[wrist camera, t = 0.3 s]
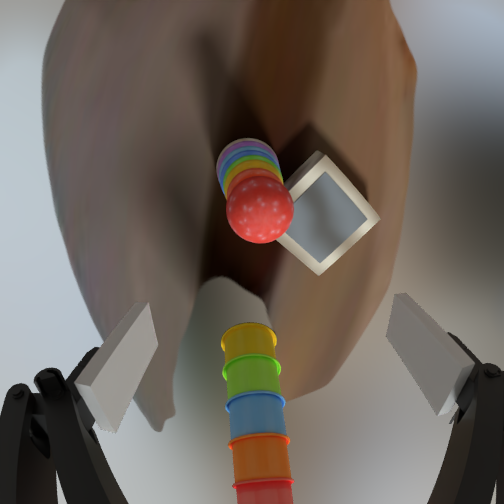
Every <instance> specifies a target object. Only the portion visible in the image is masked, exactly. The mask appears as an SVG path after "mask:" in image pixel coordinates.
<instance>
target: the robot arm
mask: <svg viewBox="0 0 504 504" xmlns="http://www.w3.org/2000/svg"><path fill="white" fill-rule="evenodd" d="M386 337H387V339H388V340H389V342H390V343H391V344H392V346H393V348H394V349H395V350H396V352H397V353H398V355H399V356H400V358H401V359H402V361H403V362H404V364H405V365H406V367H407V369H408V370H409V372H410V373H411V374H412V376H413V378H414V379H415V381H416V383H417V384H418V386H419V387H420V389H421V390H422V392H423V393H424V395H425V397H426V399H427V400H428V402H429V403H430V405H431V407H432V408H433V410H434V412H435V413H436V415H437V416H439V415H442V414H445V413H447V412H450V411H451V409H452V407H453V406H454V404H455V402H456V403H457V404H458V406H459V407H458V409H457V411H456V412H455V414H454V416H453V417H452V419H451V421H450V423H449V424H451V423H452V422H453V420H454V424H453V428H452V433H451V436H450V440H449V444H448V448H447V451H446V454H445V458H444V461H443V464H442V467H441V470H440V473H439V475H438V478H437V481H436V484H435V486H434V489H433V491H432V494H431V496H430V498H429V501H428V503H427V504H490V503H491V500H492V496H493V492H494V487H495V483H496V504H504V371H501V369H500V368H499V367H498V366H496V365H494V364H491V363H485V364H482V363H481V362H480V361H479V360H478V358H476V356H475V355H474V354H473V353H472V352H471V351H470V350H469V349H467V347H466V346H465V345H464V344H463V343H462V342H461V341H460V340H459V339H458V337H456V336H454V335H452V334H451V333H449V332H448V333H446V332H445V331H444V330H443V329H442V328H441V327H440V326H439V325H438V323H437V322H435V320H434V319H432V318H431V317H430V316H429V315H428V314H427V313H426V312H425V311H424V310H423V309H422V308H421V307H420V306H419V305H418V304H417V303H416V302H415V301H414V300H413V299H412V298H411V297H410V296H409V295H408V294H407V293H401V294H395V295H394V300H393V305H392V311H391V315H390V320H389V325H388V329H387V334H386ZM157 346H158V342H157V338H156V334H155V330H154V325H153V321H152V316H151V312H150V307H149V302H135V304H134V305H133V306H132V307H131V309H130V310H129V311H128V312H127V314H126V315H125V316H124V317H123V319H122V320H121V321H120V322H119V324H118V325H117V326H116V327H115V329H114V330H113V331H112V332H111V334H110V335H109V336H108V338H107V339H106V340H105V342H104V343H103V344H102V345H101V347H100V348H99V347H94V348H93V349H92V350H90V351H89V352H87V353H86V354H85V356H84V357H83V358H82V361H80V362H79V363H78V366H76V367H75V369H74V370H73V371H72V373H71V374H70V376H69V377H68V378H67V379H66V381H65V379H64V377H63V375H62V373H61V371H60V370H58V369H57V368H46V369H44V370H41V371H40V372H39V373H38V374H37V375H36V376H35V378H34V383H35V385H36V387H37V389H38V391H39V392H40V393H32V392H31V390H30V389H29V387H28V386H27V385H26V384H22V383H20V384H16V385H13V386H12V387H11V388H10V389H9V390H8V392H7V394H6V397H5V401H4V404H3V407H2V411H1V415H0V504H58V498H57V484H56V483H57V482H56V471H57V474H58V478H59V481H60V484H61V487H62V490H63V493H64V496H65V499H66V502H67V504H128V502H127V500H126V498H125V497H124V495H123V493H122V491H121V489H120V487H119V485H118V483H117V482H116V479H115V478H114V475H113V473H112V471H111V469H110V467H109V465H108V463H107V460H106V458H105V456H104V453H103V451H102V449H101V446H100V444H99V441H98V439H97V436H96V434H95V431H94V430H93V428H92V426H93V424H94V422H95V421H96V423H97V424H98V426H99V427H100V429H101V430H105V431H109V432H112V433H116V432H117V430H118V428H119V425H120V423H121V421H122V419H123V417H124V415H125V412H126V410H127V408H128V406H129V404H130V402H131V400H132V397H133V395H134V393H135V391H136V389H137V387H138V385H139V383H140V381H141V379H142V377H143V375H144V372H145V370H146V368H147V366H148V364H149V362H150V360H151V358H152V356H153V354H154V352H155V350H156V348H157Z"/></svg>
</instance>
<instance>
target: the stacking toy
mask: <svg viewBox="0 0 504 504" xmlns="http://www.w3.org/2000/svg"><path fill="white" fill-rule="evenodd" d="M216 171H217V176H218V180H219V182H220V186H221V188H222V191H223V193H224V195H225V197H226V200H227V206H226V213H227V218H228V221H229V224H230V226H231V227H232V229H233V230H234V231H235V232H236V233H237V234H238V235H239V236H240V237H241V238H243V239H245V240H247V241H250V242H254V243H267V242H271V241H273V240H276V239H277V238H279V237H280V236H282V235H283V234H284V233H285V232H286V231H287V229H288V228H289V226H290V224H291V222H292V219H293V215H294V204H293V200H292V197H291V195H290V193H289V191H288V190H287V188H286V187H285V186H284V185H283V178H282V174H281V171H280V167H279V162H278V159H277V156H276V154H275V152H274V151H273V150H272V148H271V147H270V146H269V145H267V144H266V143H264V142H262V141H260V140H258V139H253V138H243V139H238V140H235V141H233V142H231V143H230V144H228V145H227V146H226V147H225V148H224V149H223V150H222V152H221V154H220V155H219V158H218V161H217V166H216Z"/></svg>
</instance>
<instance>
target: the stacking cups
mask: <svg viewBox="0 0 504 504" xmlns="http://www.w3.org/2000/svg"><path fill="white" fill-rule="evenodd" d="M276 342H277V339H276V335H275V333H274V332H273V330H272V329H270V328H269V327H267V326H265V325H263V324H259V323H250V322H249V323H242V324H238V325H235V326H233V327H231V328H229V329H228V330H227V331H226V332H225V333H224V334H223V336H222V338H221V346H222V348H223V350H224V351H225V366H224V367H223V376H224V378H225V379H226V380H227V390H228V391H227V393H228V401H227V402H226V405H225V408H226V410H227V411H228V412H229V415H230V431H231V441H230V442H229V443H228V446H229V448H230V449H231V450H233V464H234V476H235V483H234V484H233V485H232V487H233V488H235V489H236V491H237V503H238V504H293V497H292V489H291V484H292V483H294V480H293V479H292V478H291V472H290V465H289V458H288V451H287V445H288V444H289V443H290V438H289V437H288V436H287V435H286V430H285V422H284V415H283V407H284V405H285V399H284V397H283V396H281V390H280V384H279V378H278V375H279V374H280V371H281V366H280V363H279V362H278V361H277V360H276V356H275V349H274V347H275V345H276Z"/></svg>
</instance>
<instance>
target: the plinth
mask: <svg viewBox="0 0 504 504" xmlns="http://www.w3.org/2000/svg"><path fill="white" fill-rule="evenodd" d="M283 185H284V186H285V187H286V188H287V190H288V191H289V193H290V195H291V197H292V200H293V204H294V215H293V219H292V222H291V224H290V226H289V228H288V229H287V231H286V232H285V233H284V234H283V235H282V236H280V237H279V238H277V239H276V240H277V241H278V242H279V243H281V244H282V245H283V246H284V247H285V248H287V249H288V250H289V251H290V252H291V253H292V254H294V255H295V256H296V257H297V258H298V259H299V260H301V261H302V262H303V263H304V264H305V265H306V266H308V267H309V268H310V269H311V270H312V271H313V272H315V273H316V274H317V275H318V276H319V275H320V274H322V273H323V272H324V271H325V270H326V269H327V268H328V267H329V266H331V265H332V264H333V263H334V262H335V261H336V260H337V259H338V258H339V257H341V256H342V255H343V254H344V253H345V252H346V251H347V250H348V249H349V248H350V247H351V246H353V245H354V244H355V243H356V242H357V241H358V240H359V239H360V238H361V237H362V236H363V235H364V234H365V233H366V232H367V231H368V230H370V229H371V228H372V227H373V226H374V225H375V224H376V223H377V222H378V221H379V220H380V219H381V218H380V217H379V216H378V215H377V213H376V212H375V211H374V209H373V208H372V207H371V206H370V205H369V203H368V202H367V201H366V200H365V198H364V197H363V196H362V195H361V194H360V192H359V191H358V190H357V189H356V188H355V187H354V185H353V184H352V183H351V182H350V181H349V180H348V179H347V177H346V176H345V175H344V174H343V173H342V172H341V171H340V170H339V168H338V167H337V166H336V165H335V164H334V163H333V162H332V161H331V160H330V159H329V158H328V157H327V156H326V155H325V154H323V153H322V152H320V151H318V150H316V151H315V152H314V153H313V154H312V155H311V156H310V157H309V158H308V159H307V160H306V161H305V162H304V163H303V164H302V165H301V166H300V167H299V168H298V169H297V170H296V171H295V172H294V173H293V174H292V175H291V176H290V177H289V178H288V179H287V180H286V181H285V182H284V183H283Z"/></svg>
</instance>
